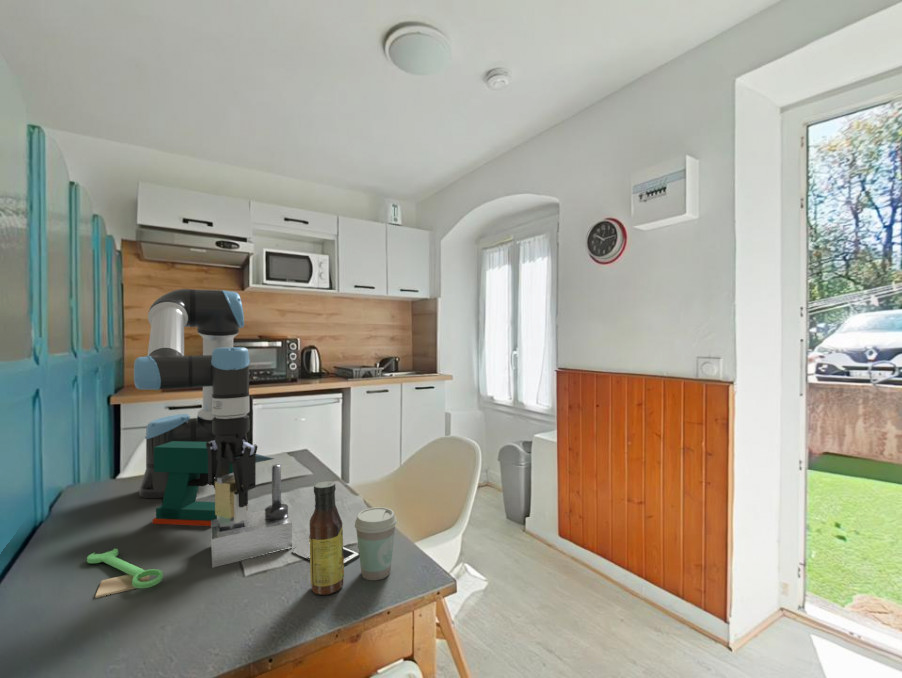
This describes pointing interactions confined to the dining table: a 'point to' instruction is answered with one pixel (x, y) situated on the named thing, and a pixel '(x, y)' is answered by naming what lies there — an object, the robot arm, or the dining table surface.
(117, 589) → the key mat
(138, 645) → the dining table surface
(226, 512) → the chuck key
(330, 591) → the sauce bottle
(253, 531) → the block
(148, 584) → the wrench
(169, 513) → the power tool
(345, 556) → the cell phone
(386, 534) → the coffee cup
